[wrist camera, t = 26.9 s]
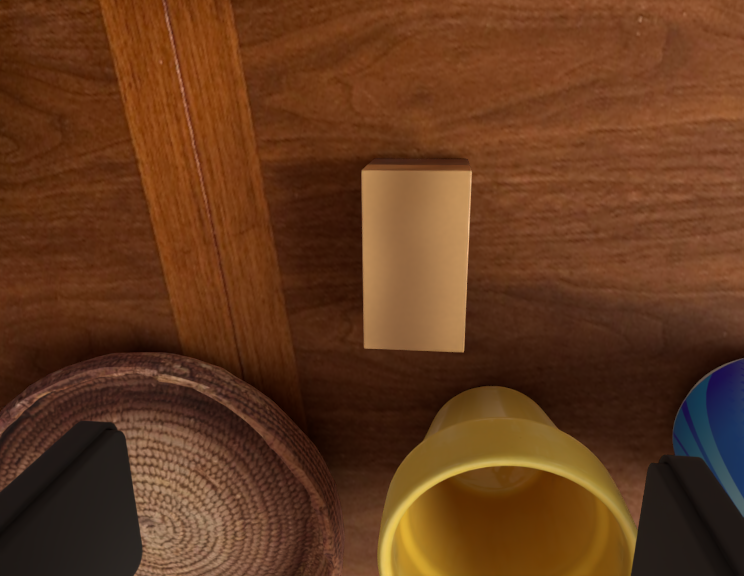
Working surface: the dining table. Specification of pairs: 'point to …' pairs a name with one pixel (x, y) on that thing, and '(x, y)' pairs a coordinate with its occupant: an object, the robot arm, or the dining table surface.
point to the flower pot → (503, 498)
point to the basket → (193, 464)
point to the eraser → (415, 253)
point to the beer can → (716, 427)
